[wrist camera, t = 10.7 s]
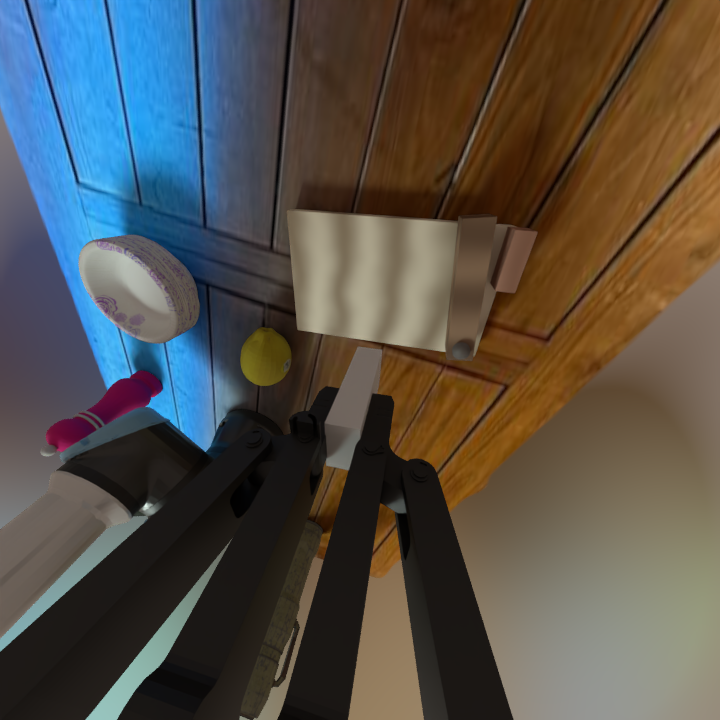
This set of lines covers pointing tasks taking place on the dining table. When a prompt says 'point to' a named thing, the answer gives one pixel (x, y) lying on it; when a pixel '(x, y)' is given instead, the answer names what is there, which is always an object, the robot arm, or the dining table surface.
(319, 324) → the stool seat
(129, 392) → the pepper mill
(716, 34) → the dining table surface
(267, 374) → the lemon
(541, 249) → the dining table surface
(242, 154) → the dining table surface
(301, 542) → the thermos
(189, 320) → the paper bowls
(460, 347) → the walnut leg
